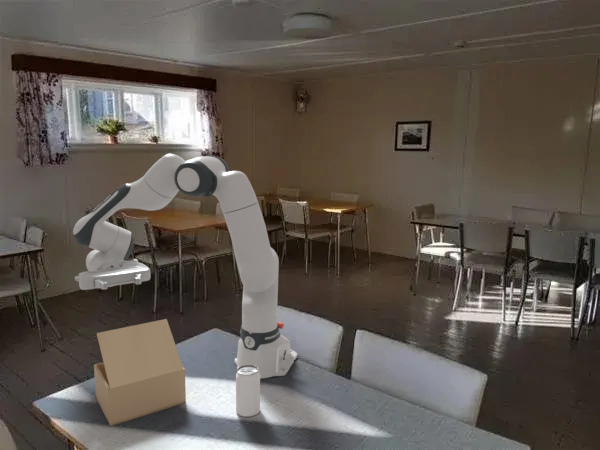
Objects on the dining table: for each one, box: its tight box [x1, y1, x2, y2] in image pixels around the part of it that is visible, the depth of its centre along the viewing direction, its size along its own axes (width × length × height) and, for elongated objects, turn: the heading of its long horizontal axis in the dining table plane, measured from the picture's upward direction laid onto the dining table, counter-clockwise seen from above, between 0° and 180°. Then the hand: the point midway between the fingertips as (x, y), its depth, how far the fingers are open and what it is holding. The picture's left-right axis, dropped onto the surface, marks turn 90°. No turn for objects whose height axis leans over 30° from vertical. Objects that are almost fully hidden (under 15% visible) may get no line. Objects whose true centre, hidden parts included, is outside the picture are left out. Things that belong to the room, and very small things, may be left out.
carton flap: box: [96, 318, 184, 389], centre depth 127 cm, size 16×19×1 cm
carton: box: [93, 362, 187, 427], centre depth 131 cm, size 16×20×10 cm
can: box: [235, 365, 261, 418], centre depth 126 cm, size 6×6×12 cm
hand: (122, 284), depth 136 cm, fingers open, 8 cm apart
